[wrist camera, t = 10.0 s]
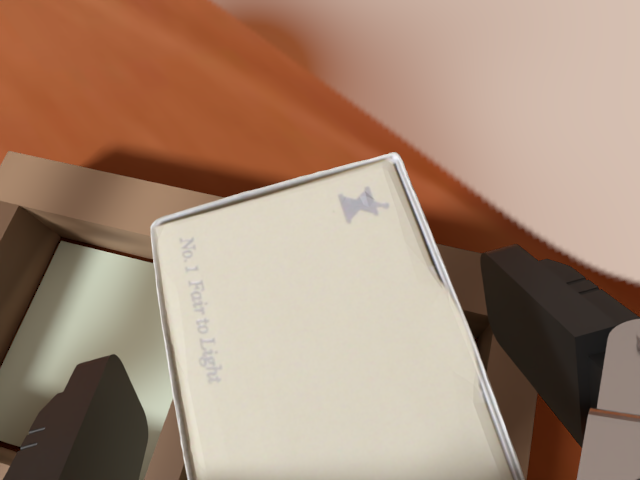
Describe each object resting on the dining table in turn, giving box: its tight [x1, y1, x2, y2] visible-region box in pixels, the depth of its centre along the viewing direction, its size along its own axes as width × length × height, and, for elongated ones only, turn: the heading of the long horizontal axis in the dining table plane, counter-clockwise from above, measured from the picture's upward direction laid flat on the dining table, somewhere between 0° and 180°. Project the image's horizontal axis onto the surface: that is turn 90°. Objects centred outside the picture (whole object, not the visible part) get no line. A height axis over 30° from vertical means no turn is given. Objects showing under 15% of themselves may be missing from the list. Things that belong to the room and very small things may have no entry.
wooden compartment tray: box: [0, 151, 538, 480], centre depth 19 cm, size 20×12×3 cm, turn 75°
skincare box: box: [150, 152, 525, 480], centre depth 13 cm, size 6×4×12 cm
